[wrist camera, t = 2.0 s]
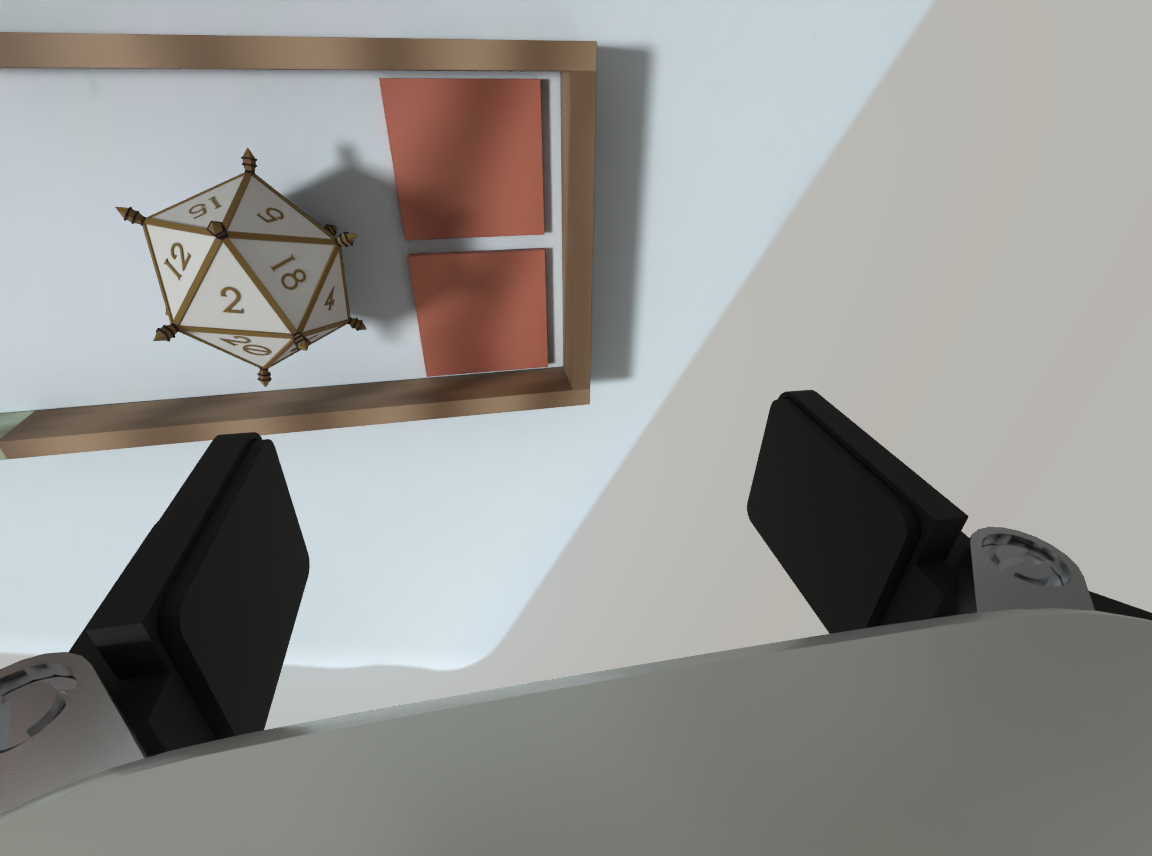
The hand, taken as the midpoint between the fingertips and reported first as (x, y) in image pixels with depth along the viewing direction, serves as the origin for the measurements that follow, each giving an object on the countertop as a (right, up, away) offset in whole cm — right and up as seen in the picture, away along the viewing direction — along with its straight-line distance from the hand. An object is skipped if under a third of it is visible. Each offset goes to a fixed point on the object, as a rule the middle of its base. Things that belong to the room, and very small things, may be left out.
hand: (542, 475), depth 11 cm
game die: (-14, +10, +17) cm, 24 cm away
